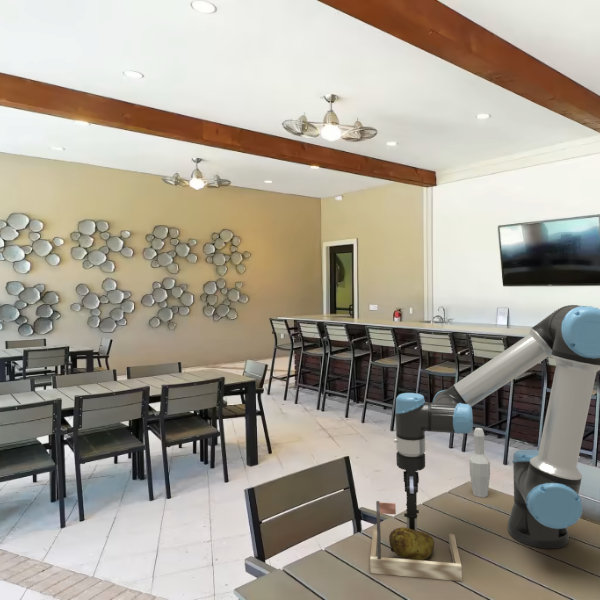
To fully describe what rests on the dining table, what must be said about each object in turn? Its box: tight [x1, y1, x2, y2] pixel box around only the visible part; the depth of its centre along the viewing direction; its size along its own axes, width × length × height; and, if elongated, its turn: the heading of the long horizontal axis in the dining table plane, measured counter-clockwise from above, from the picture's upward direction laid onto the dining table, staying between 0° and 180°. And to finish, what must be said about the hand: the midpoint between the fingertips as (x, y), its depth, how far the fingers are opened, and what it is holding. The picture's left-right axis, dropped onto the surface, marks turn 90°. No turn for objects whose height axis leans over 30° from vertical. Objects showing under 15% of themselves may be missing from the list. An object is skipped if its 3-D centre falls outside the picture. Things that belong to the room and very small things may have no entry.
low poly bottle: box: [469, 427, 491, 498], centre depth 159 cm, size 6×6×22 cm
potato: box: [388, 526, 435, 561], centre depth 122 cm, size 8×13×8 cm, turn 99°
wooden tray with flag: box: [369, 500, 463, 582], centre depth 122 cm, size 21×15×18 cm
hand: (412, 538), depth 128 cm, fingers closed
